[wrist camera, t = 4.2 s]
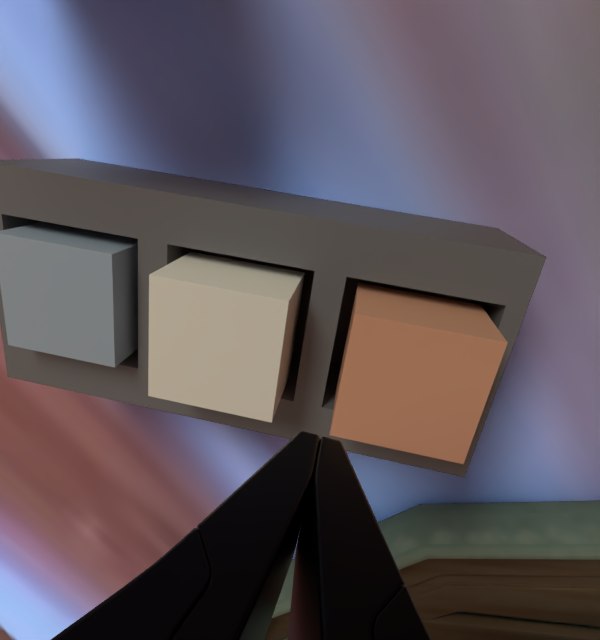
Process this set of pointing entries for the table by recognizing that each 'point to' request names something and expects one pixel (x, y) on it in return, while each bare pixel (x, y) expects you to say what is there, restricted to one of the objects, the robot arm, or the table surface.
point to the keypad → (276, 251)
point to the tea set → (493, 570)
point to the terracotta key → (415, 372)
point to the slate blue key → (70, 292)
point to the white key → (222, 333)
